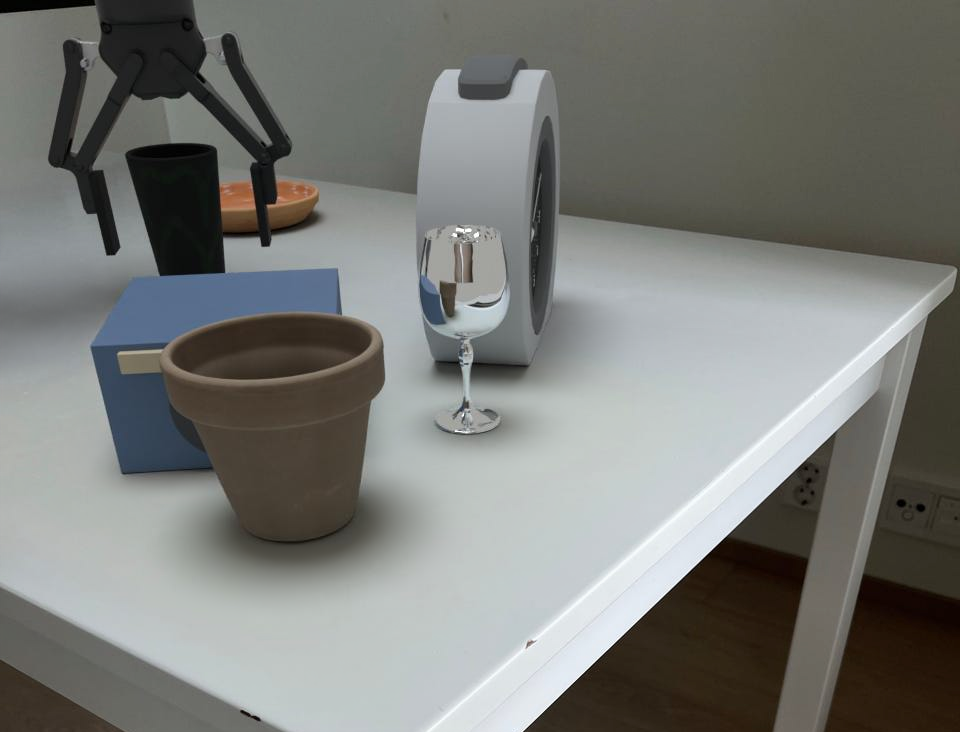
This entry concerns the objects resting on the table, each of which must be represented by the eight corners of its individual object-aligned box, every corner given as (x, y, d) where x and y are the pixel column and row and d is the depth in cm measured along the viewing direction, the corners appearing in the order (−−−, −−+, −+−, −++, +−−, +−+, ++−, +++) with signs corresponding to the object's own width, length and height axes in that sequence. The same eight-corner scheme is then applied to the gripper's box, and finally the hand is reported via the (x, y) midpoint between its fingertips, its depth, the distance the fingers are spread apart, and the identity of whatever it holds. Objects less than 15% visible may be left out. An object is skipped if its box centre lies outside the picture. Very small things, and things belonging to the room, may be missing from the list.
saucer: (156, 221, 116) (150, 193, 114) (273, 199, 125) (269, 173, 123) (227, 245, 106) (222, 216, 104) (348, 220, 115) (346, 192, 113)
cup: (232, 304, 89) (209, 157, 82) (145, 307, 89) (115, 160, 82) (242, 279, 96) (222, 141, 89) (162, 282, 95) (135, 144, 88)
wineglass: (446, 399, 70) (439, 219, 63) (522, 410, 69) (524, 226, 62) (410, 430, 66) (399, 241, 59) (491, 443, 64) (488, 249, 57)
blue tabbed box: (119, 477, 61) (87, 348, 57) (156, 389, 73) (132, 277, 68) (348, 463, 62) (336, 336, 58) (348, 378, 74) (337, 267, 69)
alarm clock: (521, 385, 72) (524, 73, 61) (421, 380, 74) (406, 72, 62) (556, 297, 89) (564, 40, 78) (475, 294, 91) (470, 40, 79)
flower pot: (194, 483, 60) (160, 316, 55) (380, 461, 62) (366, 298, 57) (193, 581, 51) (153, 393, 45) (412, 552, 53) (400, 369, 47)
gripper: (-43, -30, 74) (38, 266, 86) (296, -42, 76) (328, 250, 88) (-14, -33, 80) (58, 244, 92) (300, -44, 82) (329, 229, 94)
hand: (190, 247), depth 90 cm, fingers open, 13 cm apart
